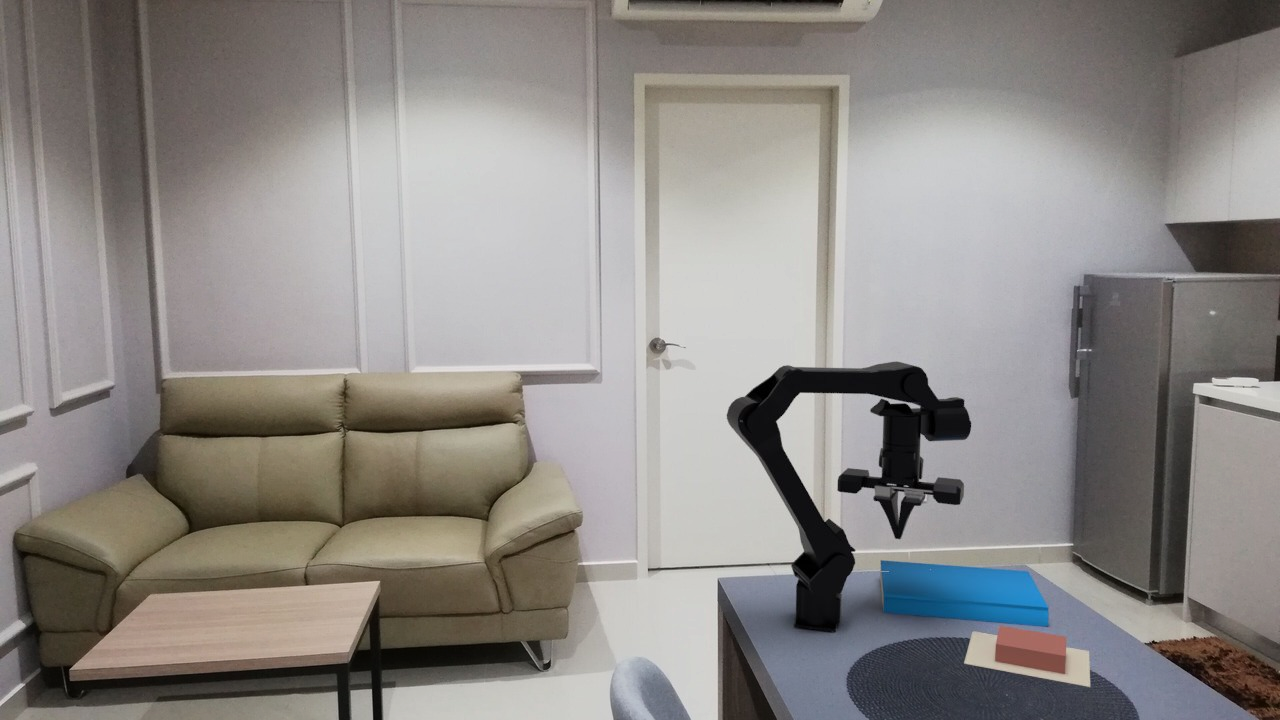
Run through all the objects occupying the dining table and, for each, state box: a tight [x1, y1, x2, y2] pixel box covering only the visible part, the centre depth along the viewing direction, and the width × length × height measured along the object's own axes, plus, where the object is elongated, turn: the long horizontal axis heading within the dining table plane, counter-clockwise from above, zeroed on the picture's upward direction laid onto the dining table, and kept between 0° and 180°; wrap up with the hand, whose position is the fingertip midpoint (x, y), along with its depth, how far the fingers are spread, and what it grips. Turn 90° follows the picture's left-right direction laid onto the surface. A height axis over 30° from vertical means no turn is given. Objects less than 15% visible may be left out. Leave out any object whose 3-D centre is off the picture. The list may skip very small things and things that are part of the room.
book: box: [879, 559, 1050, 627], centre depth 149 cm, size 17×4×25 cm
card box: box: [995, 625, 1067, 674], centre depth 128 cm, size 3×7×9 cm
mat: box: [963, 631, 1091, 688], centre depth 128 cm, size 16×12×1 cm
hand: (898, 538), depth 142 cm, fingers closed
